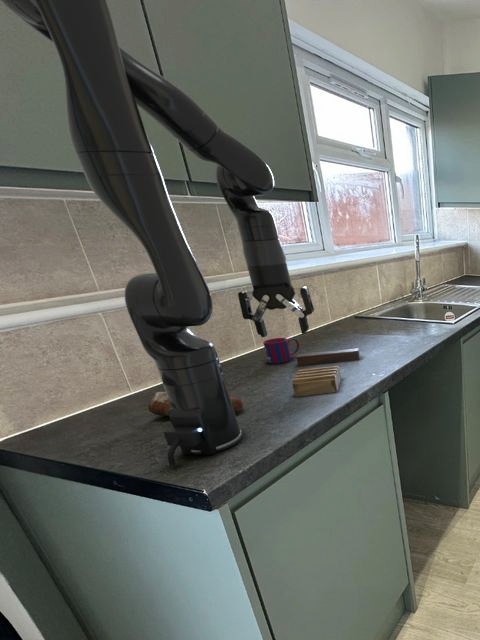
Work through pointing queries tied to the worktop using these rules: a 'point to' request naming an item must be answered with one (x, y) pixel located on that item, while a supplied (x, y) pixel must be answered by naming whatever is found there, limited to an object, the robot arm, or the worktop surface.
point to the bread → (162, 404)
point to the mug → (279, 350)
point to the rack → (316, 381)
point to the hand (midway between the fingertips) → (284, 334)
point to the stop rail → (328, 357)
